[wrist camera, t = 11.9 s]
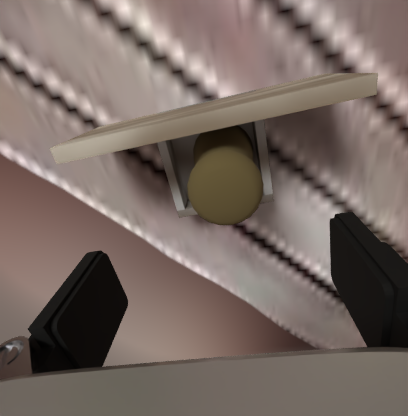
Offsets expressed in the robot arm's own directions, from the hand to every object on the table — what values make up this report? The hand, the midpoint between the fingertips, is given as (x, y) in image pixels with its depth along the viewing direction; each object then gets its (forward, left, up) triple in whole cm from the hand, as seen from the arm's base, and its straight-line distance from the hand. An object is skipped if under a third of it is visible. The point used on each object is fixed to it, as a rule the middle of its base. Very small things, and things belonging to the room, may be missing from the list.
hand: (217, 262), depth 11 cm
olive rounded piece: (0, 0, -18) cm, 18 cm away
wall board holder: (0, 0, -18) cm, 18 cm away
